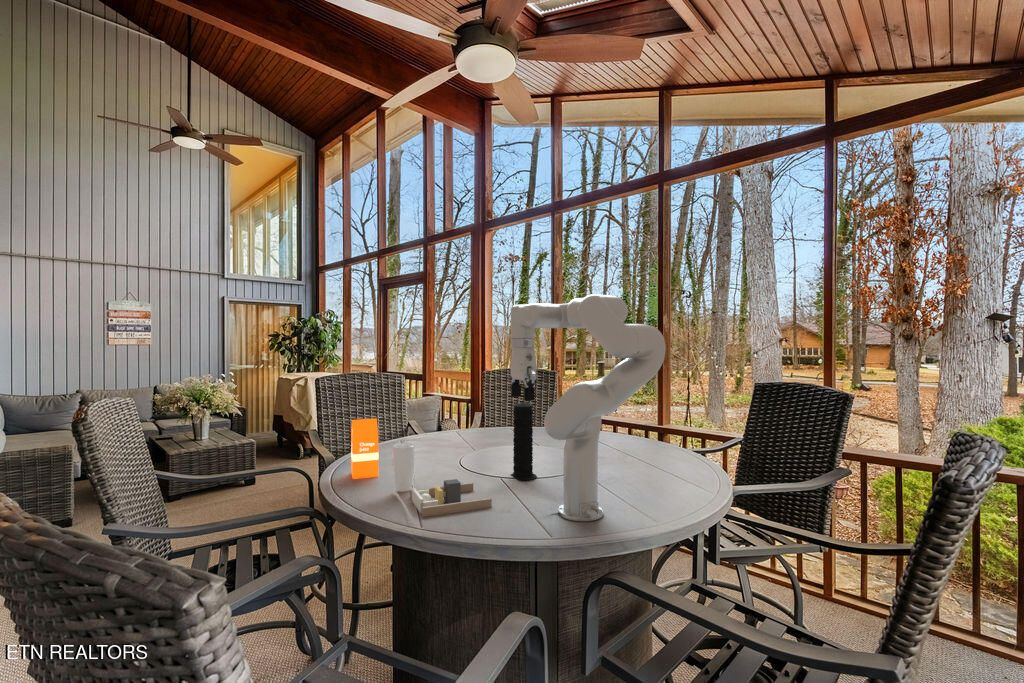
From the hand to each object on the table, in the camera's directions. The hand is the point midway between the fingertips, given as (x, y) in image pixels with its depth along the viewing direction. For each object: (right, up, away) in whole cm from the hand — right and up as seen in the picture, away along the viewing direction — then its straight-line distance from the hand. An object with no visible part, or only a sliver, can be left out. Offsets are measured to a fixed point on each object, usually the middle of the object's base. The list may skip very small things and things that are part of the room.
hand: (522, 398), depth 159 cm
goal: (-29, -31, -13) cm, 44 cm away
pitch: (-22, -31, -10) cm, 39 cm away
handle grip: (+1, -30, +19) cm, 36 cm away
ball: (-29, -26, -13) cm, 42 cm away
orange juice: (-56, -30, +22) cm, 67 cm away
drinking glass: (-38, -30, +3) cm, 49 cm away
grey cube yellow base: (-22, -30, -10) cm, 38 cm away
